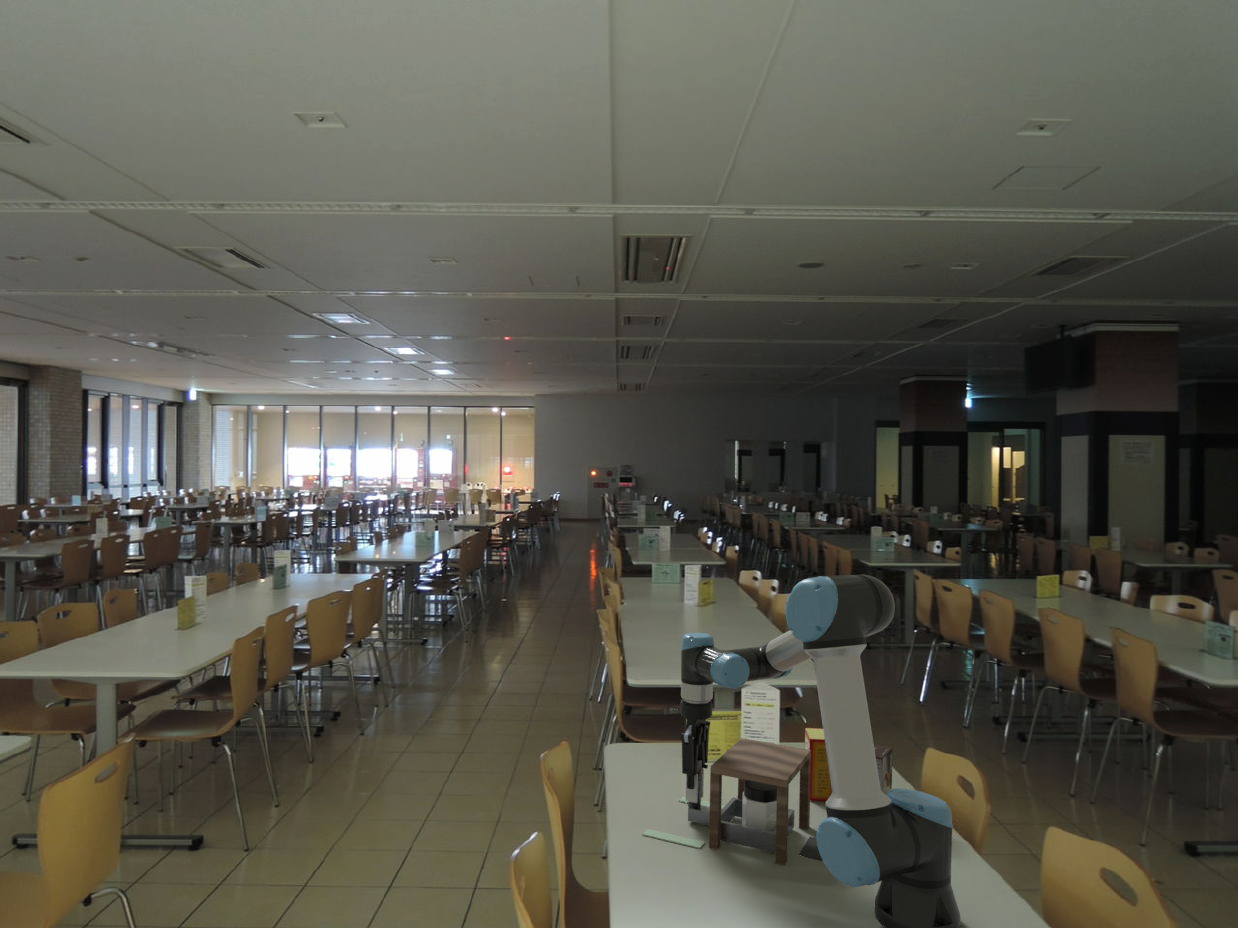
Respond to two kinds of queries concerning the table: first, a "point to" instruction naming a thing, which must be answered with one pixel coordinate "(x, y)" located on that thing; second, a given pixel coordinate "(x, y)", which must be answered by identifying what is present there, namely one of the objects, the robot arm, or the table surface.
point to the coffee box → (884, 767)
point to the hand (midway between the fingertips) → (694, 798)
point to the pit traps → (811, 849)
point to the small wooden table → (762, 767)
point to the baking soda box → (818, 765)
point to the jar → (759, 805)
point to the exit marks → (677, 838)
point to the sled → (732, 830)
